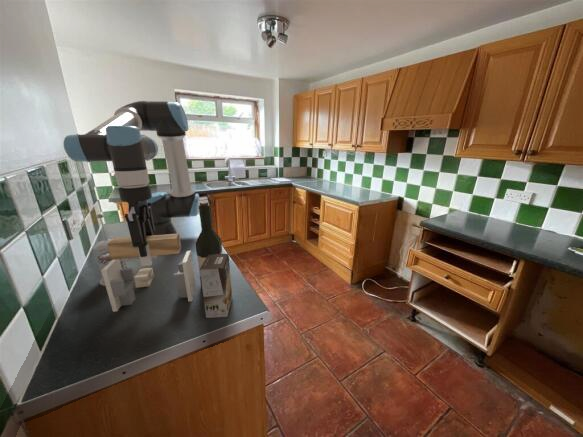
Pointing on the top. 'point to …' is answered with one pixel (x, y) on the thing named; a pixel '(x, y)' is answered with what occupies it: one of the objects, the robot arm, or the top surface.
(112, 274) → the brackets
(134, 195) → the robot arm
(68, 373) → the top surface
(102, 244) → the french press
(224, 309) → the coffee box
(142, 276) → the spacers
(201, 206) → the wine bottle
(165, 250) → the rail
